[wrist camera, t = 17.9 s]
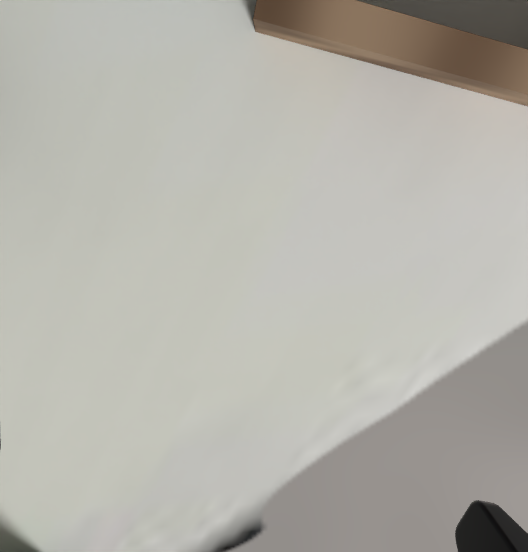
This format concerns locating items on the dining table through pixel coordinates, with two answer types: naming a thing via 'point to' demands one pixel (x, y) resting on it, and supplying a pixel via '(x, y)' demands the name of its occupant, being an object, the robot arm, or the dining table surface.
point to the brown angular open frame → (400, 44)
